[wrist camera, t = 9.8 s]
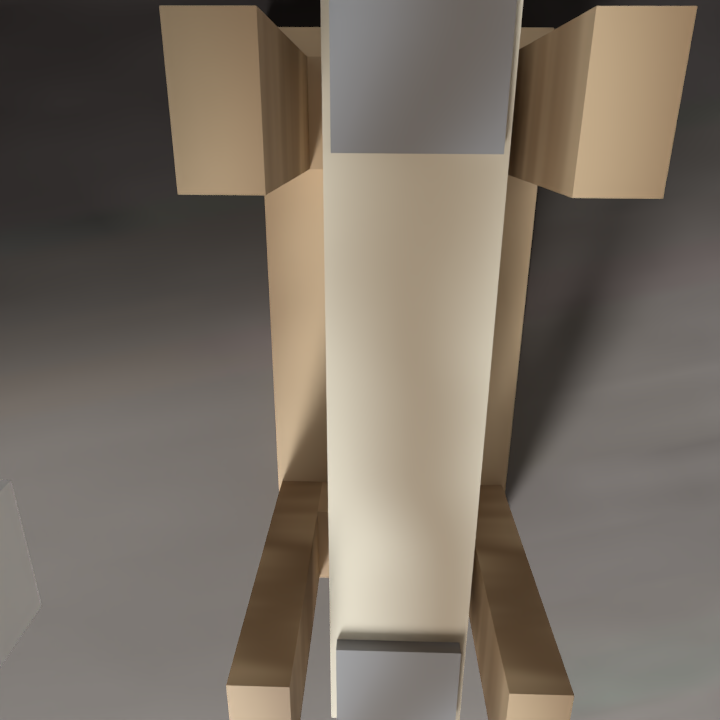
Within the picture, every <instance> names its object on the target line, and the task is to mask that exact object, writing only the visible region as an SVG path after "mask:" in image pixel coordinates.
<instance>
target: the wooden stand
mask: <svg viewBox="0 0 720 720" xmlns="http://www.w3.org/2000/svg"><path fill="white" fill-rule="evenodd" d="M159 9H160V19H161V29H162V39H163V49H164V60H165V70H166V80H167V90H168V100H169V110H170V120H171V131H172V141H173V151H174V161H175V171H176V181H177V191H178V194H179V195H265V215H266V235H267V256H268V276H269V296H270V317H271V337H272V357H273V378H274V398H275V418H276V439H277V459H278V479H279V495H278V498H277V502H276V506H275V509H274V513H273V517H272V520H271V524H270V528H269V531H268V535H267V539H266V542H265V546H264V550H263V553H262V557H261V560H260V564H259V568H258V571H257V575H256V579H255V582H254V586H253V590H252V593H251V597H250V601H249V604H248V608H247V611H246V615H245V619H244V622H243V626H242V630H241V633H240V637H239V641H238V644H237V648H236V652H235V655H234V659H233V663H232V666H231V670H230V673H229V677H228V681H227V684H226V688H227V698H228V708H229V719H230V720H300V717H301V710H302V702H303V695H304V687H305V680H306V672H307V665H308V657H309V650H310V642H311V635H312V627H313V620H314V612H315V605H316V597H317V590H318V582H319V577H327V578H329V527H328V461H327V396H326V331H325V265H324V200H323V135H322V70H321V27H277V26H276V25H275V24H274V23H273V22H272V21H271V20H270V19H269V18H268V17H267V16H266V15H265V14H264V13H263V12H262V11H261V10H260V9H259V8H258V7H257V6H159ZM696 11H697V6H596V7H594V8H592V9H590V10H589V11H587V12H585V13H583V14H581V15H580V16H578V17H576V18H574V19H573V20H571V21H569V22H567V23H565V24H564V25H562V26H560V27H558V28H557V29H555V30H554V28H528V27H521V33H520V44H519V55H518V67H517V78H516V89H515V100H514V112H513V123H512V134H511V145H510V157H509V168H508V179H507V190H506V202H505V213H504V224H503V235H502V247H501V258H500V269H499V280H498V292H497V303H496V314H495V325H494V337H493V348H492V359H491V370H490V382H489V393H488V404H487V415H486V427H485V438H484V449H483V460H482V471H481V483H480V494H479V505H478V516H477V528H476V539H475V550H474V561H473V573H472V584H471V595H470V606H469V617H470V623H471V628H472V634H473V639H474V645H475V650H476V655H477V661H478V666H479V672H480V677H481V682H482V688H483V693H484V699H485V704H486V709H487V715H488V720H570V716H571V711H572V705H573V700H574V694H573V691H572V688H571V685H570V682H569V679H568V676H567V673H566V670H565V667H564V664H563V662H562V659H561V656H560V653H559V650H558V647H557V644H556V641H555V638H554V635H553V633H552V630H551V627H550V624H549V621H548V618H547V615H546V612H545V609H544V606H543V603H542V601H541V598H540V595H539V592H538V589H537V586H536V583H535V580H534V577H533V574H532V571H531V569H530V566H529V563H528V560H527V557H526V554H525V551H524V548H523V545H522V542H521V540H520V537H519V534H518V531H517V528H516V525H515V522H514V519H513V516H512V513H511V510H510V508H509V505H508V502H507V499H506V496H505V488H506V478H507V469H508V459H509V450H510V440H511V431H512V422H513V412H514V403H515V393H516V384H517V374H518V365H519V356H520V346H521V337H522V327H523V318H524V308H525V299H526V290H527V280H528V271H529V261H530V252H531V242H532V233H533V224H534V214H535V205H536V195H537V186H541V187H543V188H546V189H549V190H552V191H554V192H557V193H560V194H563V195H566V196H568V197H571V198H638V199H663V196H664V190H665V185H666V179H667V173H668V168H669V162H670V157H671V151H672V145H673V140H674V134H675V129H676V123H677V117H678V112H679V106H680V101H681V95H682V89H683V84H684V78H685V73H686V67H687V61H688V56H689V50H690V45H691V39H692V33H693V28H694V22H695V17H696Z"/></svg>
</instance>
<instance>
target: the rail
mask: <svg viewBox="0 0 720 720" xmlns="http://www.w3.org/2000/svg"><path fill="white" fill-rule="evenodd" d="M320 4H321V70H322V135H323V200H324V265H325V331H326V396H327V461H328V527H329V592H330V657H331V717H333V718H337V720H459V719H460V708H461V696H462V685H463V674H464V663H465V651H466V640H467V629H468V618H469V606H470V595H471V584H472V573H473V561H474V550H475V539H476V528H477V516H478V505H479V494H480V483H481V471H482V460H483V449H484V438H485V427H486V415H487V404H488V393H489V382H490V370H491V359H492V348H493V337H494V325H495V314H496V303H497V292H498V280H499V269H500V258H501V247H502V235H503V224H504V213H505V202H506V190H507V179H508V168H509V157H510V145H511V134H512V123H513V112H514V100H515V89H516V78H517V67H518V55H519V44H520V33H521V22H522V10H523V0H320Z"/></svg>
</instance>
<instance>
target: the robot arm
mask: <svg viewBox="0 0 720 720" xmlns="http://www.w3.org/2000/svg"><path fill="white" fill-rule="evenodd" d="M41 606H42V605H41V601H40V597H39V593H38V589H37V585H36V580H35V576H34V572H33V568H32V564H31V560H30V556H29V552H28V547H27V543H26V539H25V535H24V531H23V527H22V523H21V519H20V515H19V510H18V506H17V502H16V498H15V494H14V490H13V486H12V482H11V480H0V668H1V666H2V665H3V663H4V662H5V660H6V659H7V657H8V656H9V654H10V653H11V651H12V650H13V648H14V647H15V645H16V644H17V642H18V641H19V639H20V638H21V636H22V635H23V633H24V632H25V630H26V629H27V627H28V626H29V624H30V623H31V621H32V620H33V618H34V617H35V615H36V614H37V612H38V611H39V609H40V608H41Z"/></svg>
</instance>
